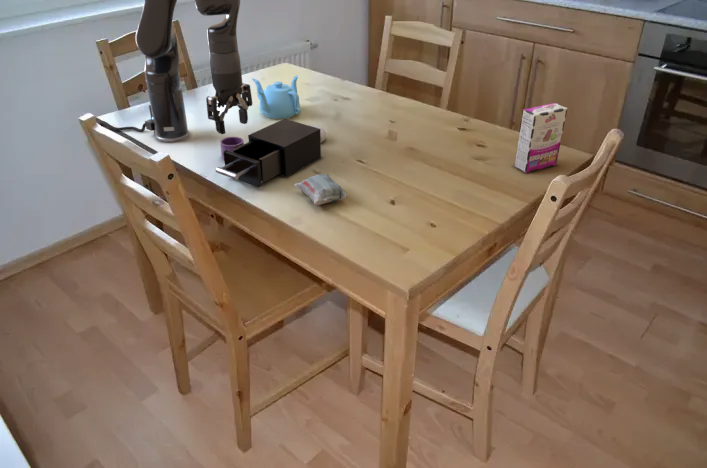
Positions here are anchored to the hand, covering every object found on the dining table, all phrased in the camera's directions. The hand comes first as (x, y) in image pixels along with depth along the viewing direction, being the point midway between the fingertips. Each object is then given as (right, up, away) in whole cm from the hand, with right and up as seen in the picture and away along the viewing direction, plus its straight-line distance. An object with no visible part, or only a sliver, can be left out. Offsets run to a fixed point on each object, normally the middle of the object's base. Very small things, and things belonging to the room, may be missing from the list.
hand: (232, 128), depth 157 cm
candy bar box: (+82, -10, +3) cm, 82 cm away
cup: (-1, -8, +4) cm, 9 cm away
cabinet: (+14, -9, +3) cm, 17 cm away
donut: (+19, -1, +15) cm, 25 cm away
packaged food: (+24, -20, -14) cm, 34 cm away
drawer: (+7, -13, -7) cm, 16 cm away
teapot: (+8, +11, +33) cm, 36 cm away
